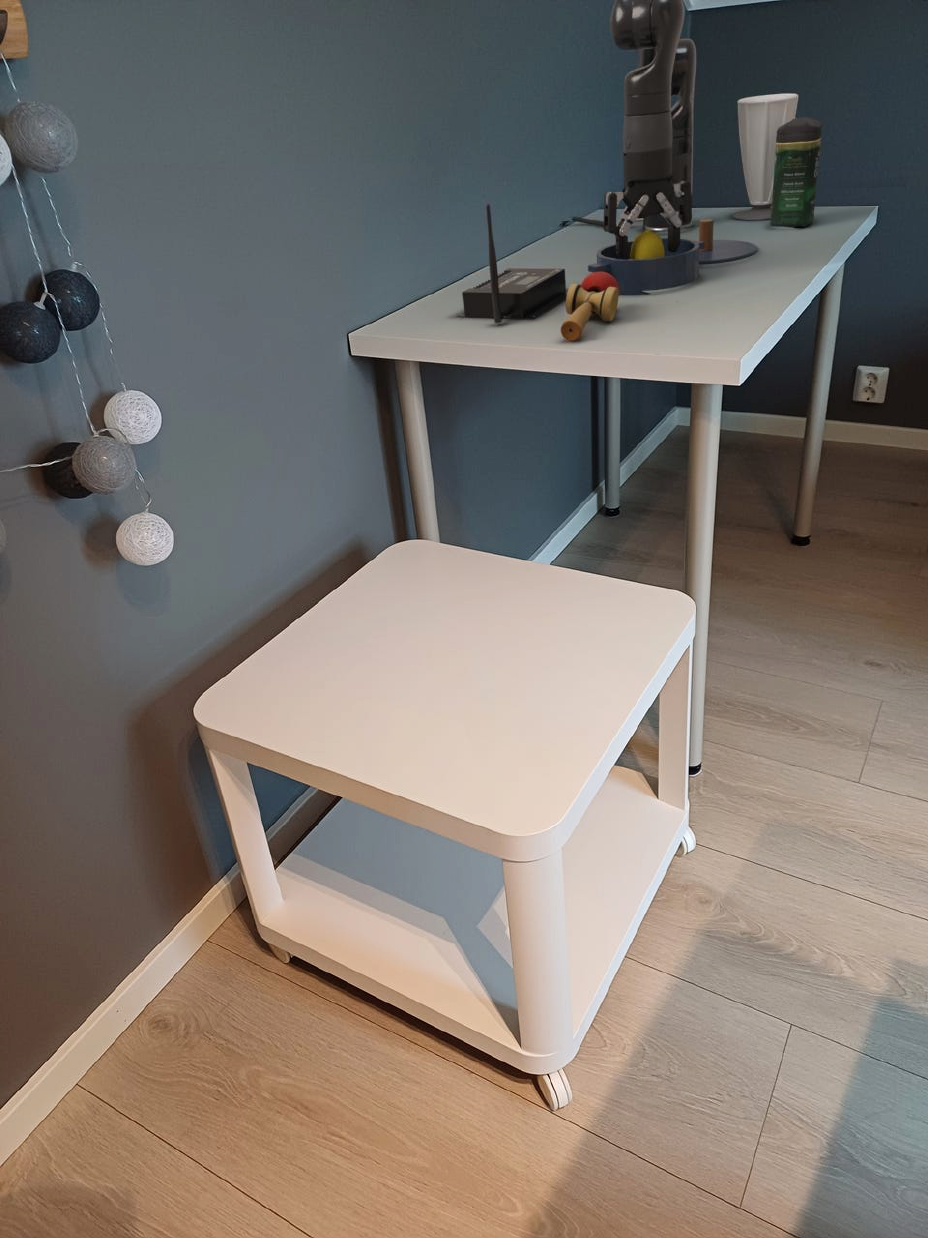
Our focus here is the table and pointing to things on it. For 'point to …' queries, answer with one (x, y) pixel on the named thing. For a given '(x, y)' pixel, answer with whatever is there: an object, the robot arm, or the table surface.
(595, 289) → the kendama
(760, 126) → the cup
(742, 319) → the table surface
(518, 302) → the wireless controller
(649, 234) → the lemon
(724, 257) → the pan lid
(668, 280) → the pan
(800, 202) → the coffee jar
